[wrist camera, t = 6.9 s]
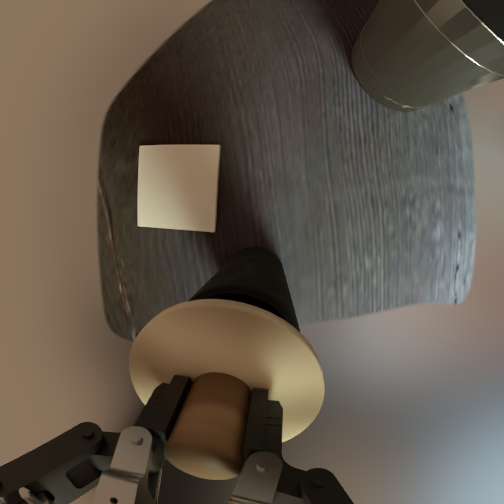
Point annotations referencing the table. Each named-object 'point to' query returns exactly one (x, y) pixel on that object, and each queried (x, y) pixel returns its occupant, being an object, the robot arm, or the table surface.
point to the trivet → (178, 186)
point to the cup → (253, 284)
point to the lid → (225, 378)
